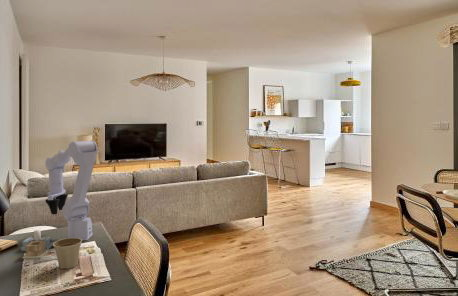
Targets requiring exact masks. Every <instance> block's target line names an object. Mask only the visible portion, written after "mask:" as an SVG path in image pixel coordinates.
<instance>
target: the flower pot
mask: <svg viewBox="0 0 458 296" xmlns="http://www.w3.org/2000/svg"><path fill="white" fill-rule="evenodd" d="M82 242H83V240H82V239H80V238H68V237H67V238H61V239H58V241H56V242H54V243H53V246H52V247H53V249H54V250H55V252H56V258H57V263H58V268H59V269H62V270H65V269H67V270H69V269H72V268H75V267H77V266H78V265H79V259H80V250H81V249H80V248H81V245H82Z"/></svg>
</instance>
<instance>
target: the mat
mask: <svg viewBox="0 0 458 296" xmlns="http://www.w3.org/2000/svg"><path fill="white" fill-rule="evenodd" d="M49 252H50V249H48V250H46V251H45V252H44V253H43V254H41V255H40V256H26V254H25V255H23V256H22V257H21V258H22V259H42V258H43V257H44V256H45V255H46V254H48V253H49Z"/></svg>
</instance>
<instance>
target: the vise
mask: <svg viewBox="0 0 458 296" xmlns="http://www.w3.org/2000/svg"><path fill="white" fill-rule="evenodd" d="M41 233H42V232H41V229H36V230H34V231H33V237H27V238H26V239H24V240H22V246H21V247H20V251H21V252H26V248H25V246H26V245H28V244H29V243H31V242H34V241H45V249H46V250H50V249H51V248H52V247H54V246H53V243H54V242H56V241H58V240H59V239H53V236H48V237H42V234H41Z"/></svg>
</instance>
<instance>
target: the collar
mask: <svg viewBox="0 0 458 296" xmlns="http://www.w3.org/2000/svg"><path fill="white" fill-rule="evenodd" d="M25 248H26V251H25V255H26V256H40V255H41V254H43V253H44V252H45V251H46V249H45V241H34V242H31V243H29V244H28V245H26V246H25Z"/></svg>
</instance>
